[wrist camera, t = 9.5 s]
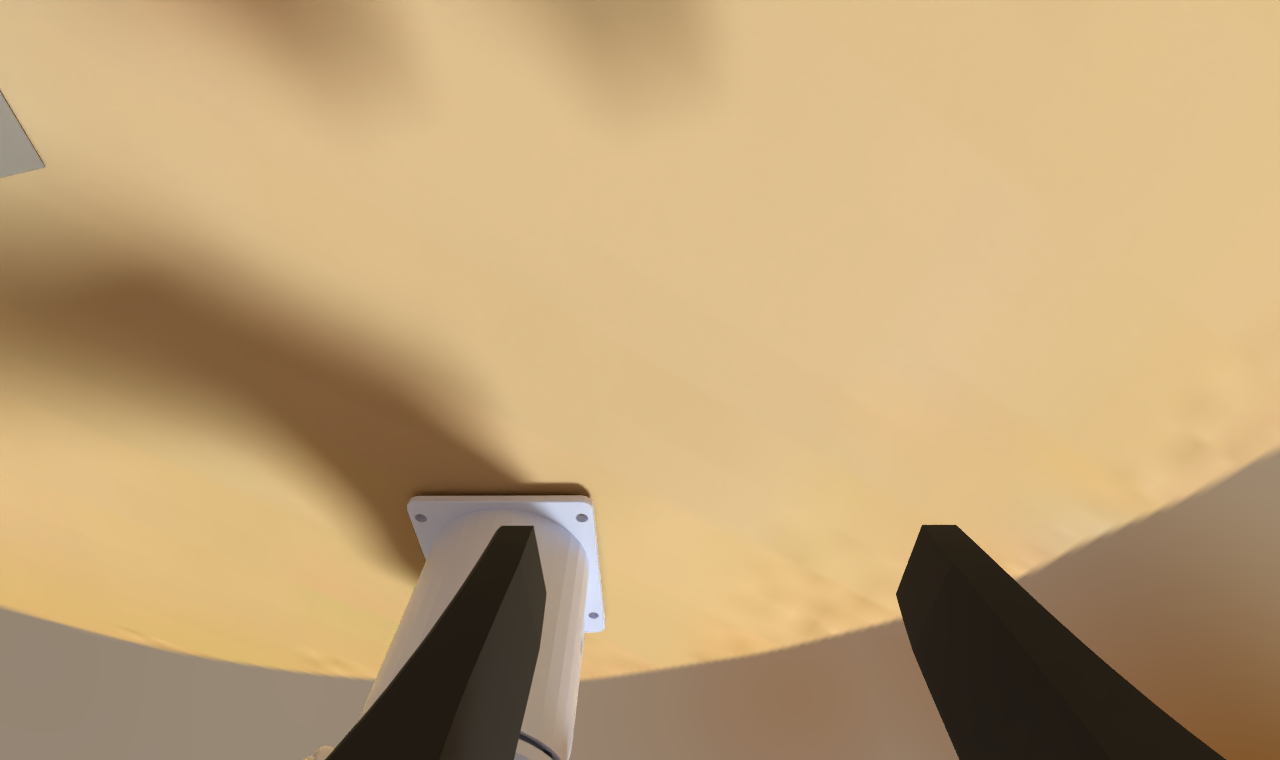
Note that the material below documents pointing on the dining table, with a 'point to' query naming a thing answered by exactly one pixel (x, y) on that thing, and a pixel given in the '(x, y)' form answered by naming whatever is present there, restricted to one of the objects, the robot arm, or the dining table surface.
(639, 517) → the dining table surface
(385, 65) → the dining table surface
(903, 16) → the dining table surface
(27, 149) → the base block
